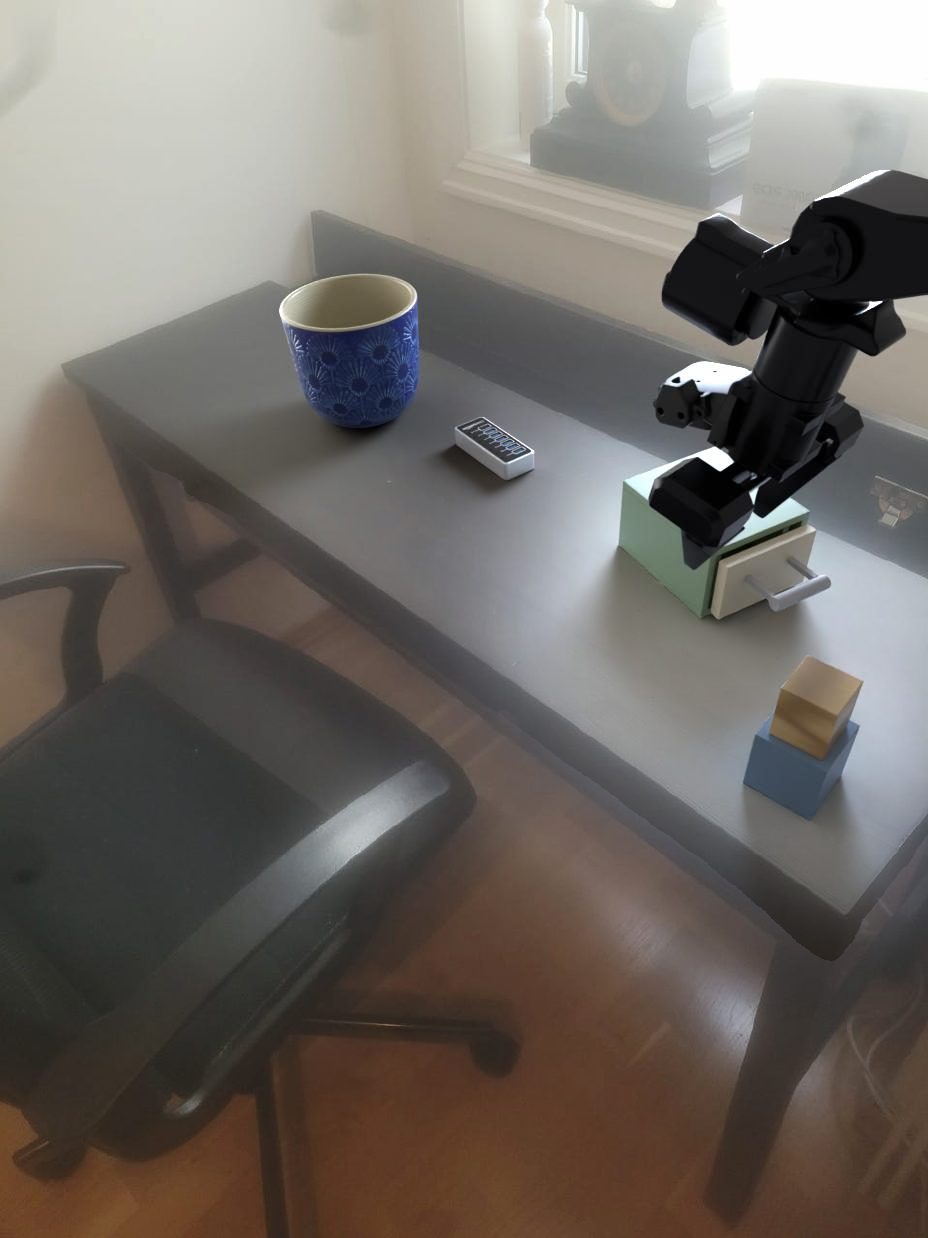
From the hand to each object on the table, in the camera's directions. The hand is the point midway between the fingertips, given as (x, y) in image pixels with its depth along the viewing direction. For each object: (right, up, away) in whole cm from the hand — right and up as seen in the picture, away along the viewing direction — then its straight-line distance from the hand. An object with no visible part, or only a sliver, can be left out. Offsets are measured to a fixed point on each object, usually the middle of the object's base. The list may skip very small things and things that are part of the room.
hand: (725, 539), depth 70 cm
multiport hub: (-17, +14, +37) cm, 43 cm away
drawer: (+6, -2, +16) cm, 17 cm away
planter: (-34, +21, +47) cm, 62 cm away
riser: (+5, -19, -1) cm, 20 cm away
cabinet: (+4, 0, +19) cm, 20 cm away
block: (+5, -15, -5) cm, 16 cm away
